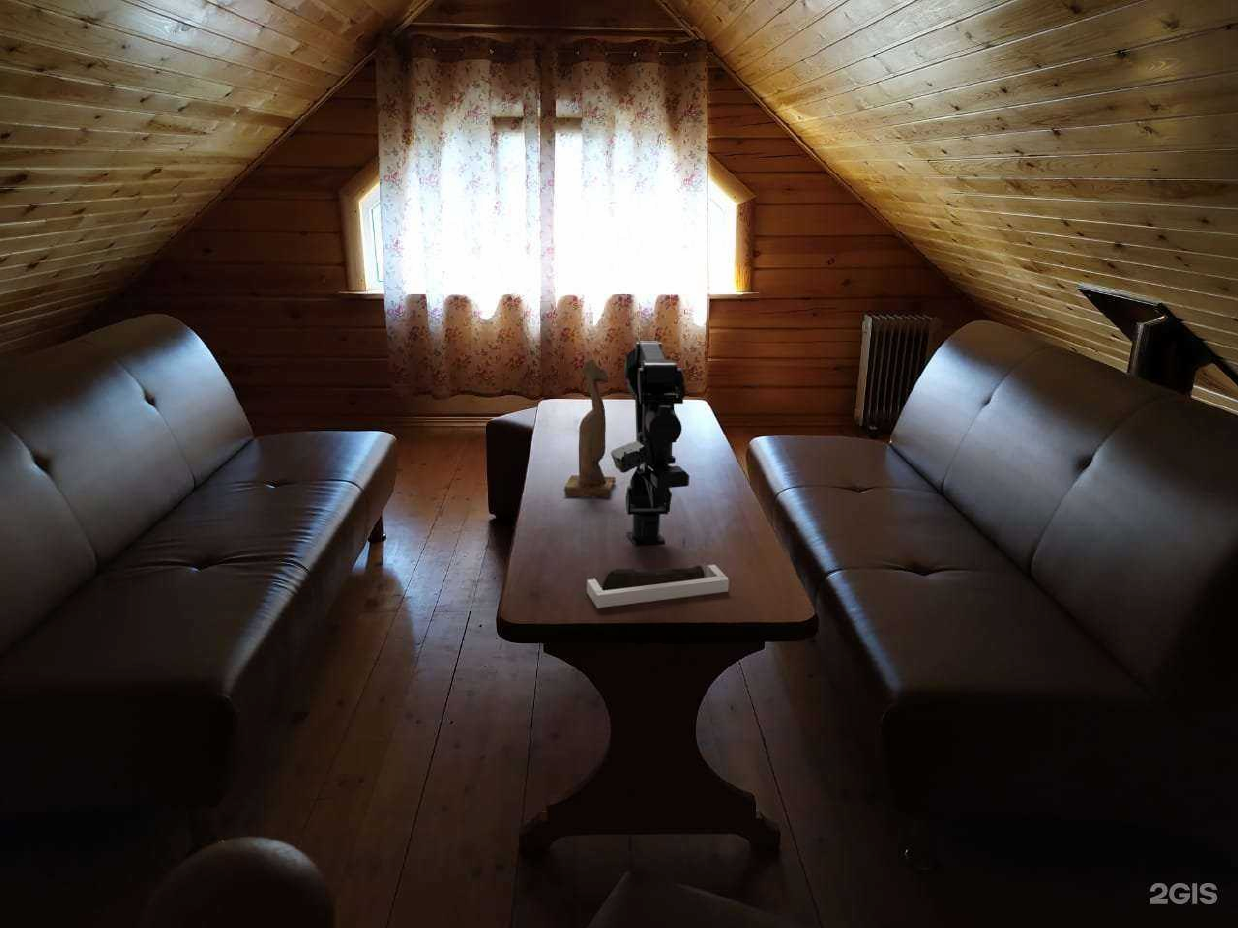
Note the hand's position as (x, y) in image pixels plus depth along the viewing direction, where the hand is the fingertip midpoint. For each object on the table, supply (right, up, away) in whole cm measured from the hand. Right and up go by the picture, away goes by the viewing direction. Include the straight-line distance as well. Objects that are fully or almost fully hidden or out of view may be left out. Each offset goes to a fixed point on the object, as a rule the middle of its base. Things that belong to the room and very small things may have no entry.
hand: (655, 508), depth 168 cm
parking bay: (0, -15, -7) cm, 17 cm away
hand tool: (0, -15, -6) cm, 16 cm away
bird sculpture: (-14, +2, +45) cm, 47 cm away
